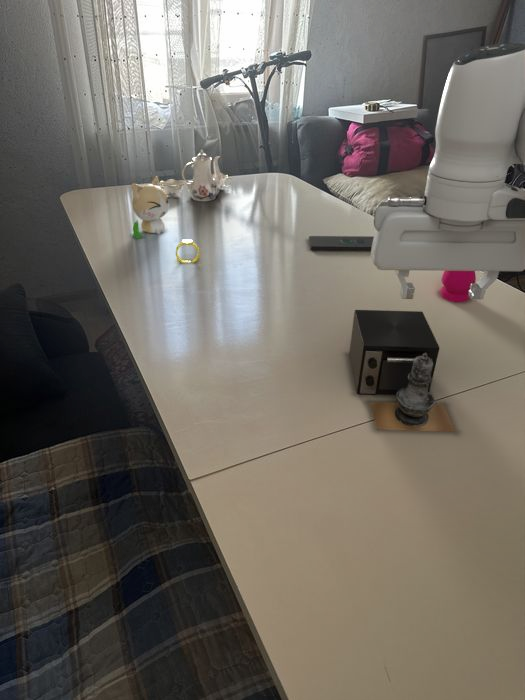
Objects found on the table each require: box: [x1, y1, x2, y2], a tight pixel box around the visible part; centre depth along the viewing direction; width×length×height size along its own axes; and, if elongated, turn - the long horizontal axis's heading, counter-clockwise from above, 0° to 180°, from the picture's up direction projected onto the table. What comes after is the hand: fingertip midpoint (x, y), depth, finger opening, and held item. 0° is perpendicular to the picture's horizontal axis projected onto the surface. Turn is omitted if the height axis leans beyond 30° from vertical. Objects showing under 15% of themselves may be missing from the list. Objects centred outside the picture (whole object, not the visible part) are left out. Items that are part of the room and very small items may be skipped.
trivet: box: [370, 401, 456, 433], centre depth 82 cm, size 12×7×1 cm, turn 88°
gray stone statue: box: [395, 353, 436, 427], centre depth 78 cm, size 6×6×12 cm
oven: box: [348, 309, 441, 396], centre depth 88 cm, size 12×14×10 cm
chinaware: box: [159, 149, 232, 202], centre depth 178 cm, size 28×17×17 cm, turn 130°
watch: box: [175, 238, 200, 264], centre depth 131 cm, size 6×3×6 cm, turn 98°
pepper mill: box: [440, 271, 477, 303], centre depth 112 cm, size 7×7×20 cm
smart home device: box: [308, 235, 374, 252], centre depth 143 cm, size 8×2×20 cm
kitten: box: [131, 175, 170, 239], centre depth 147 cm, size 15×10×15 cm
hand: (440, 297), depth 71 cm, fingers open, 8 cm apart
